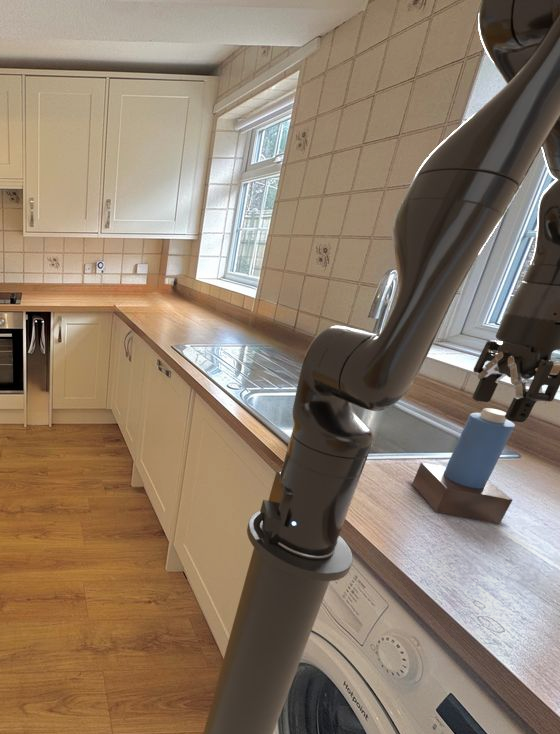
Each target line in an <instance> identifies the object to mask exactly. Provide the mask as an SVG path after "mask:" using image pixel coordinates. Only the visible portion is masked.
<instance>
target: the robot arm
mask: <svg viewBox="0 0 560 734" xmlns="http://www.w3.org/2000/svg"><path fill="white" fill-rule="evenodd" d="M477 26H478V32H479V36H480V37H479V38H480V40H481V43H482V45H483V48H484V50H485V53H486V54H487V55H488V57H489V59H490V60H491V62H492V63H493V65H494V66H495V67H496V69H497V71H498V72H499V74H500V75H501V76H502V78H503V80H504V81H505V83H506V85H505V86H504V87H503V88H502V89H500V90H499V92H497V93H496V94H495V95H494V96H493V97H492V98H491V99H489V101H487V103H485V104H484V105H483V106H482V107H480V109H478V110H477V111H476V112H475V113H474V114H472V115H471V116H470V117H469V118H467V119H466V121H464V122H463V123H462V124H461V125H460V126H459V127H458V128H457V129H455V130H454V131H453V132H452V133H451V134H450V135H449V136H448V137H446V139H444V140H443V141H442V142H441V143H440V144H439V145H437V147H436V148H435V149H434V150H433V151H432V152H431V153H430V154H429V156H428V157H426V159H425V160H424V161H423V163H422V164H421V166H420V167H419V169H418V171H417V172H416V173H415V176H414V178H413V180H412V181H411V184H410V186H409V187H408V189H407V191H406V193H405V195H404V197H403V198H402V200H401V203H400V205H399V207H398V208H397V210H396V213H395V215H394V218H393V220H392V226H391V240H392V241H391V242H392V248H393V256H394V261H395V267H396V274H397V293H396V296H395V301H394V304H393V305H392V306H393V307H392V309H391V312H390V314H389V316H388V318H387V321H386V323H385V325H384V326H383V328H382V330H381V332H380V333H378V332H374V331H370V330H366V329H362V328H358V327H353V326H349V325H342V324H341V325H340V324H339V325H338V324H337V325H332V326H328V327H327V328H325V329H323V330H322V331H320V332H319V333H318V334H317V335H316V336H315V337H314V338H313V340H312V341H311V343H310V344H309V346H308V347H307V351H306V352H305V355H304V357H303V360H302V364H301V366H300V370H299V376H298V380H297V381H298V382H297V385H296V391H295V394H294V395H295V396H294V401H293V405H292V410H291V411H292V420H293V421H292V422H293V427H292V431H291V434H290V438H289V441H288V442H289V443H288V445H287V448H286V452H285V457H284V460H283V463H282V467H281V470H277V471H276V473H275V475H274V478H273V483H272V486H271V490H270V494H269V497H268V500H267V499H262V502H261V507H260V510H259V511H260V514H259V515H258V516H257V517H256V518H255V520H254V523H253V526H254V530H255V532H256V533H257V535H258V537H259V538H264V537H265V535H264V533H263V531H262V530H261V528H260V523H261V522H262V521H263V526H264V530H265V531H266V533H267V537H268V541H269V543H270V544H272V545H276V546H279V547H280V548H281V549H283V550H285V551H287V552H288V553H290V554H293V555H295V556H298V557H301V558H304V559H308V560H326V559H328V558H330V557H331V556H332V555H333V553H334V551H335V546H336V544H337V541H338V537H339V536H341V535H340V534H341V531H342V528H343V527H344V523H345V520H346V517H347V515H348V512H349V510H350V507H351V504H352V501H353V499H354V495H355V492H356V490H357V487H358V484H359V482H360V481H359V480H360V479H361V476H362V473H363V471H364V468H365V465H366V462H367V459H368V457H369V455H370V451H371V449H372V447H373V443H374V433H373V431H372V429H371V428H370V427H369V426H368V425H367V424H366V423H365V422H364V421H363V420H362V418H360V417H359V416H358V414H357V413H356V412H355V410H354V409H353V406H352V405H355V406H357V407H360V408H362V409H364V410H367V411H372V412H382V411H385V410H388V409H390V408H391V407H393V406H394V405H396V404H397V403H398V402H399V401H400V400H401V399H402V398H404V396H405V395H406V394H407V392H408V391H409V390H410V388H411V387H412V385H414V382H415V380H416V379H417V377H418V376H419V374H420V372H421V369H422V368H423V366H424V363H425V361H426V359H427V357H428V355H429V352H430V350H431V349H432V346H433V344H434V342H435V340H436V338H437V336H438V333H439V331H440V329H441V327H442V324H443V323H444V320H445V319H446V316H447V314H448V312H449V310H450V308H451V306H452V303H453V302H454V300H455V297H456V296H457V294H458V292H459V290H460V288H461V286H462V285H463V283H464V281H465V280H466V278H467V276H468V274H469V272H470V270H471V269H472V267H473V265H474V264H475V262H476V261H477V259H478V258H479V255H480V254H481V252H482V250H483V249H484V246H486V243H488V241H489V239H490V237H491V236H492V234H493V233H494V231H495V229H496V228H497V226H498V225H499V223H500V222H501V220H502V218H503V217H504V215H505V214H506V212H507V210H508V209H509V207H510V205H511V204H512V201H513V200H514V198H515V196H516V195H517V193H518V191H519V189H520V188H521V187H522V184H523V182H524V180H525V179H526V177H527V174H529V171H530V169H531V167H532V166H533V164H534V162H535V160H536V158H537V156H538V155H539V153H540V151H541V150H542V153H543V158H544V161H545V164H546V168H547V171H548V173H549V175H550V176H551V177H552V178H553V179H555V180H554V181H552V182H551V183H550V184H549V185H548V187H546V189H544V191H543V193H542V195H541V196H540V200H539V203H538V211H537V230H536V231H537V232H536V241H535V248H534V253H533V256H532V259H531V261H530V263H529V266H528V267H527V269H526V272H525V274H524V276H523V279H522V281H521V283H520V285H519V286H518V288H517V290H516V291H515V293H514V294H513V296H512V298H511V300H510V302H509V305H508V307H507V309H506V310H505V313H504V316H503V318H502V321H501V323H500V325H499V327H498V329H497V332H496V334H495V339H496V340H486V343H484V344H485V345H484V346H483V348H482V351H481V352H480V355H479V356H478V359H477V361H476V363H475V365H474V367H473V373H475V374H478V375H477V378H478V380H479V381H478V384H477V386H476V388H475V390H474V393H473V394H472V396H471V397H472V400H473V401H475V402H481V403H489V402H490V401H491V400H492V398H493V396H494V393H495V392H496V390H497V388H498V385H499V381H500V380H502V379H503V378H504V377H508V378H510V383H511V385H513V386H514V388H515V396H514V397H513V398H512V401H511V403H510V404H509V407H508V409H507V411H506V415H505V418H506V420H509V421H511V422H516V423H525V422H526V420H527V419H528V418H529V417H530V414H531V412H532V410H533V408H534V406H535V404H536V403H537V402H553V401H554V400H555V397H556V395H557V392H558V390H559V389H560V361H558V360H552V355H553V352H554V351H557V350H559V351H560V0H481V2H480V6H479V11H478V25H477ZM486 362H488V363H486ZM532 378H533V379H532ZM543 386H546V389H545V391H543ZM527 387H529V388H528V390H527ZM351 404H352V405H351Z"/></svg>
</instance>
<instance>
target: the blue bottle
mask: <svg viewBox="0 0 560 734" xmlns="http://www.w3.org/2000/svg"><path fill="white" fill-rule="evenodd" d="M506 413H507V411H503V410H501V409H496V408H492V407H484V408H483V409H482V410H481V412H472V413H469V415H468V418H467V419H466V421H465V425H464V427H463V429H462V431H461V434H460V435H459V438H458V440H457V442H456V444H455V447H454V449H453V451H452V454H451V456H450V458H449V460H448V463H447V465H446V469H445V471H444V475H445V477H447V478H448V479H450V480H451V481H453V482H455V483H458V484H460V485H463V486H467V487H471V488H478V489H480V488H484V487H485V485H486V483H487V481H488V480H489V479H490V477H491V475H492V473H493V471H494V469H495V467H496V465H497V463H498V461H499V459H500V458H501V455H502V453H503V451H504V449H505V447H506V445H507V444H508V441H509V439H510V437H511V435H512V433H513V431H514V429H515V427H516V424H515V423H514V422H513V421H509V420H508V419H506V418H505V415H506Z"/></svg>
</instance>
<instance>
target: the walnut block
mask: <svg viewBox="0 0 560 734" xmlns="http://www.w3.org/2000/svg"><path fill="white" fill-rule="evenodd" d="M446 467H447V465H446V466H445V465H440V464H434V463H427V462H420V464H419V466H418V468H417V471H416V474H415V476H414V477H413V480H412V483H411V485H412V486H413V488H415V490H417V492H418V493H419V494H420V495H421V497H422V498H424V500H425V501H426V502H427V504H429V505H430V507H431V509H433V510H434V511H435V513H440V514H444V515H445V514H446V515H450V516H457V517H461V518H465V519H466V518H467V519H471V520H477V521H483V522H488V523H492V524H499V525H500V524H501V523H502V521H503V519H504V517H505V515H506V513H507V512H508V510H509V508H510V506H511V504H512V502H513V499H512V497H510V496H508V494H507V493H505V492H504V491H503V490H502V489H500V488H499V487H498V486H497V485H496V484H494V483H493V482H492V481H491V480H489V479H488V481H487V483H486V485H485V487H484V488H480V489H478V488H471V487H467V486H463V485H460V484H458V483H455V482H453V481H451V480H450V479H448V478H447V477H445V475H444V471H445V469H446Z"/></svg>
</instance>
